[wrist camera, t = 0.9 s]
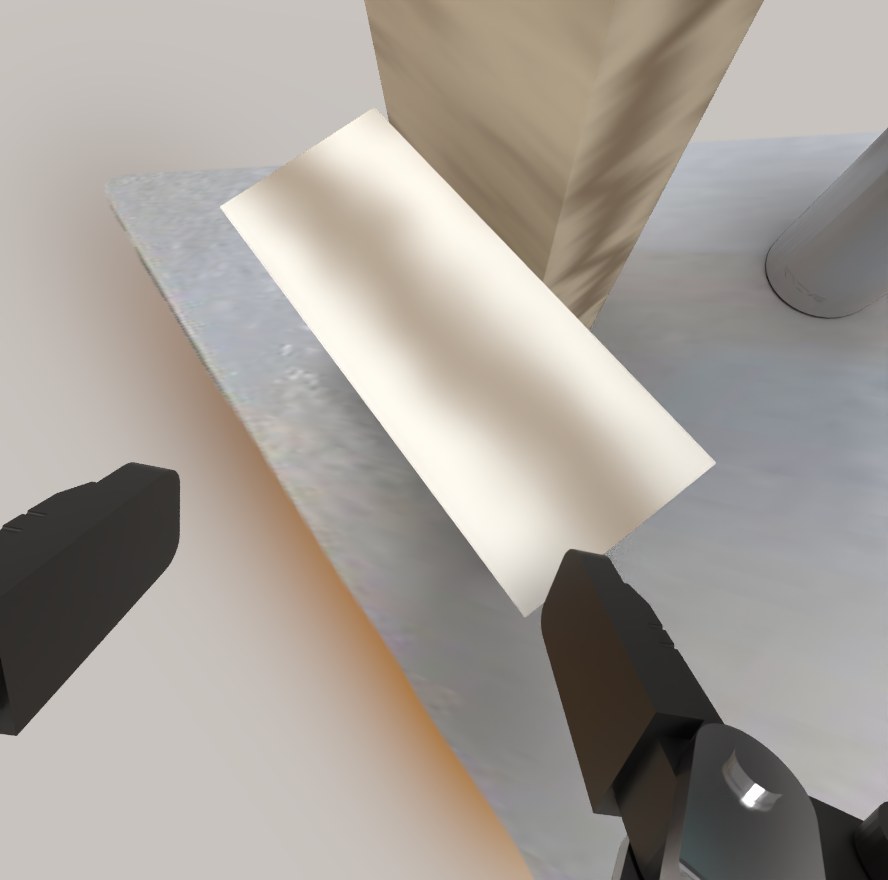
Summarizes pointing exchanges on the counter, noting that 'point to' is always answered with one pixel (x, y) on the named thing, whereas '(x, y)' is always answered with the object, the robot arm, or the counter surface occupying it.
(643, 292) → the counter surface
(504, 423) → the stepped wooden blocks
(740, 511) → the counter surface
